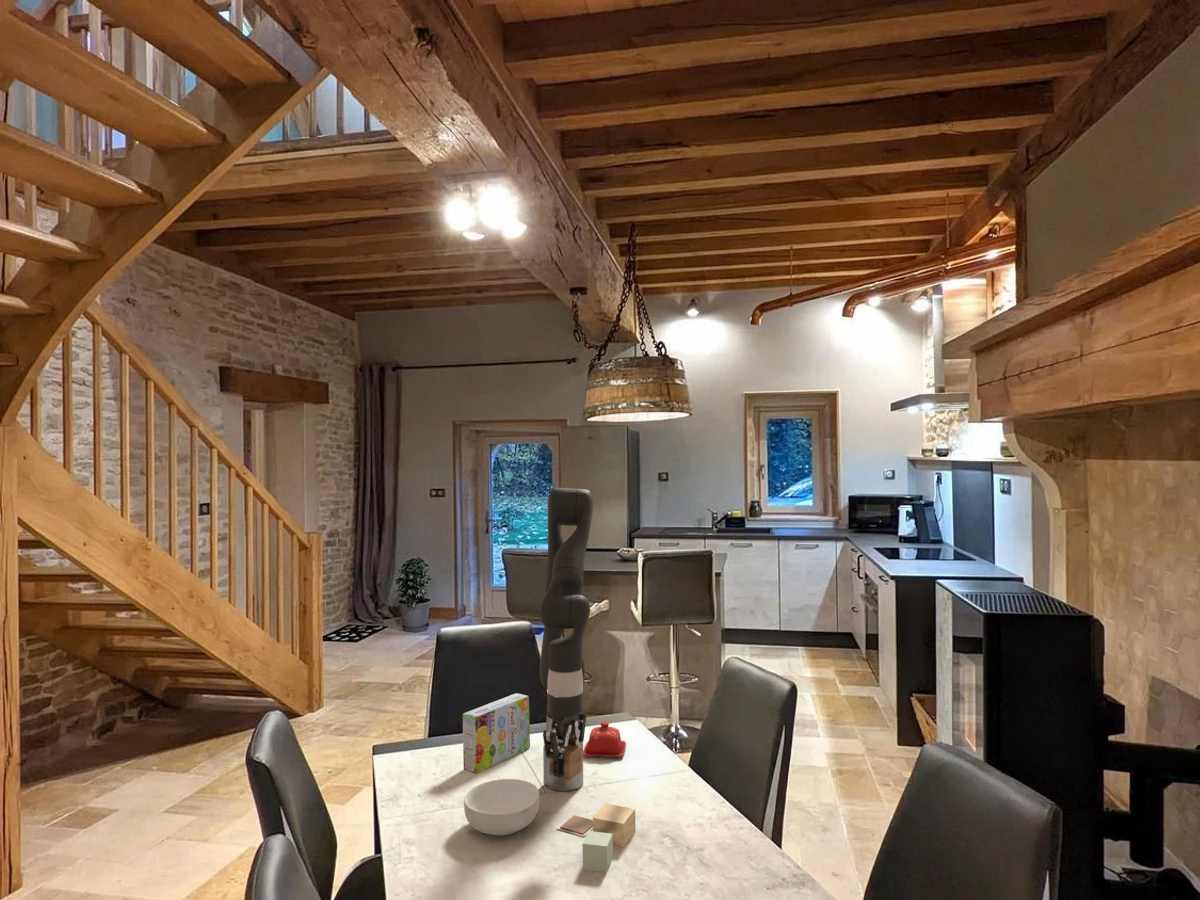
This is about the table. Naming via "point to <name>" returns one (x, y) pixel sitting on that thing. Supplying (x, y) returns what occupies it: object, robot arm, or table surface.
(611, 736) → the butter dish
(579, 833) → the walnut swatch
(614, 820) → the oak base block
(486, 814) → the cereal bowl
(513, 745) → the snack box
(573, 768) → the walnut cube
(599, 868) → the sage cube
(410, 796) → the table surface
